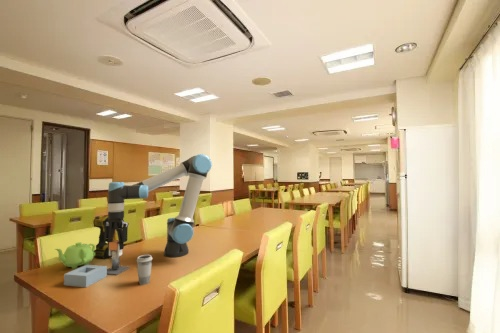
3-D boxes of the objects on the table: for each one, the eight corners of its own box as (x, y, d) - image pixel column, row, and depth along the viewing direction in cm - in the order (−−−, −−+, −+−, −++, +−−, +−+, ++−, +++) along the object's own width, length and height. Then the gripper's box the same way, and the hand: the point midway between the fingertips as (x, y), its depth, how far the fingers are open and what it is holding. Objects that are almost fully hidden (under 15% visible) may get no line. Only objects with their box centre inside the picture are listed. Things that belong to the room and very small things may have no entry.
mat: (130, 267, 132) (130, 266, 132) (116, 275, 122) (116, 274, 122) (114, 266, 133) (114, 265, 134) (99, 273, 124) (99, 272, 124)
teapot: (82, 271, 128) (83, 247, 128) (53, 272, 126) (54, 248, 127) (98, 260, 144) (98, 239, 144) (72, 261, 142) (72, 239, 143)
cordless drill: (120, 260, 144) (120, 217, 145) (89, 257, 148) (90, 216, 149) (129, 255, 152) (129, 215, 153) (100, 253, 156) (101, 214, 157)
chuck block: (106, 276, 121) (106, 266, 121) (86, 287, 109) (86, 276, 109) (86, 274, 123) (86, 264, 123) (63, 285, 111) (64, 274, 111)
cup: (135, 287, 109) (135, 260, 109) (136, 281, 115) (136, 255, 115) (152, 284, 112) (152, 257, 112) (152, 278, 118) (152, 253, 118)
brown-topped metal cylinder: (116, 269, 125) (116, 242, 126) (108, 269, 126) (109, 242, 127) (122, 266, 130) (122, 240, 130) (115, 266, 130) (115, 240, 131)
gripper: (135, 210, 131) (135, 253, 130) (107, 209, 134) (106, 252, 133) (125, 212, 123) (125, 258, 123) (96, 211, 127) (95, 256, 126)
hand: (115, 255), depth 128 cm, fingers open, 4 cm apart
